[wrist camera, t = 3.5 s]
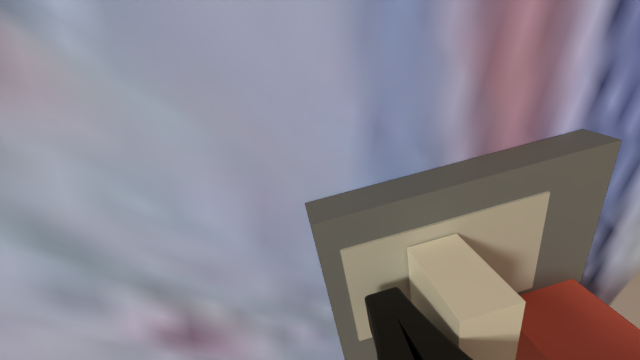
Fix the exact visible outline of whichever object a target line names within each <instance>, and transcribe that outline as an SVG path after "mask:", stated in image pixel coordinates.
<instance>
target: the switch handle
mask: <svg viewBox="0 0 640 360" xmlns="http://www.w3.org/2000/svg"><path fill="white" fill-rule="evenodd" d="M407 256H408V269H409V282H410V295H411V302H412V303H413V305H414V306H415V307H416V308H417V309H418V310H419V311H420V312H421V313H422V314H423V315H424V316H425V317H426V318H427V319H428V320H429V321H430V322H431V323H432V324H433V325H434V326H435V327H437V328H438V329H439V330H440V331H441V332H442V333H443V334H444V335H445V336H446V337H447V338H448V339H449V340H451V341H452V342H453V343H454V344H455V345H456V346H457V347H459V348H460V349H461V350H462V351H463V352H464V353H466V354H467V355H468V356H469V357H470V358H472V359H473V360H515V358H516V353H517V347H518V342H519V336H520V331H521V325H522V320H523V314H524V309H525V303H526V302H525V301H524V300H523V299H522V298H521V297H520V296H519V295H518V294H517V293H516V292H515V291H514V290H513V289H512V288H511V287H510V286H509V285H508V284H507V283H506V282H505V281H504V280H503V279H502V278H501V277H500V276H499V275H498V274H497V273H496V272H495V271H494V270H493V269H492V268H491V267H490V266H489V265H488V264H487V263H486V262H485V261H484V260H483V259H482V258H481V257H480V256H479V255H478V254H477V253H476V252H475V251H474V250H473V249H472V248H471V247H470V246H469V245H468V244H467V243H466V242H465V241H464V240H463V239H462V238H461V237H460V236H459V235H458V234H457V233H456V234H453V235H449V236H446V237H442V238H439V239H435V240H432V241H428V242H425V243H421V244H418V245H414V246H411V247H407Z"/></svg>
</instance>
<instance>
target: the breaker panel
mask: <svg viewBox="0 0 640 360" xmlns="http://www.w3.org/2000/svg"><path fill="white" fill-rule="evenodd" d="M621 141H622V140H620V139H617V138H613V137H610V136H606V135H602V134H599V133H595V132H592V131H588V130H585V129H581V130H577V131H574V132H570V133H566V134H563V135H559V136H555V137H551V138H548V139H544V140H540V141H536V142H533V143H529V144H525V145H521V146H518V147H514V148H510V149H506V150H503V151H499V152H495V153H491V154H488V155H484V156H480V157H476V158H473V159H469V160H465V161H461V162H458V163H454V164H450V165H446V166H443V167H439V168H435V169H431V170H428V171H424V172H420V173H416V174H413V175H409V176H405V177H401V178H398V179H394V180H390V181H386V182H383V183H379V184H375V185H371V186H368V187H364V188H360V189H356V190H353V191H349V192H345V193H341V194H338V195H334V196H330V197H326V198H323V199H319V200H315V201H311V202H308V203H305V206H306V210H307V213H308V217H309V221H310V225H311V229H312V233H313V237H314V241H315V245H316V249H317V253H318V256H319V260H320V264H321V268H322V272H323V276H324V280H325V284H326V288H327V292H328V295H329V299H330V303H331V307H332V311H333V315H334V319H335V323H336V327H337V331H338V335H339V338H340V342H341V346H342V350H343V354H344V358H345V360H377V352H376V348H375V344H374V340H373V337H372V334H371V331H370V326H369V321H368V315H367V310H366V304H365V299H364V298H365V297H366V296H367V295H370V294H373V293H377V292H380V291H383V290H387V289H390V288H393V287H398V288H399V289H400V290H401V291H402V292H403V293H404V295H405V296H406V297H407V298H408V299H409V300H410V301H411V295H410V282H409V269H408V256H407V247H411V246H414V245H418V244H421V243H425V242H428V241H432V240H435V239H439V238H442V237H446V236H449V235H453V234H456V233H457V234H458V235H459V236H460V237H461V238H462V239H463V240H464V241H465V242H466V243H467V244H468V245H469V246H470V247H471V248H472V249H473V250H474V251H475V252H476V253H477V254H478V255H479V256H480V257H481V258H482V259H483V260H484V261H485V262H486V263H487V264H488V265H489V266H490V267H491V268H492V269H493V270H494V271H495V272H496V273H497V274H498V275H499V276H500V277H501V278H502V279H503V280H504V281H505V282H506V283H507V284H508V285H509V286H510V287H511V288H512V289H513V290H514V291H515V292H516V293H517V294H518V295H522V294H525V293H528V292H532V291H535V290H538V289H541V288H544V287H548V286H551V285H554V284H557V283H561V282H564V281H567V280H570V279H574V280H575V281H577V282H578V283H579V284H580V282H581V279H582V275H583V272H584V268H585V265H586V262H587V258H588V255H589V251H590V248H591V244H592V241H593V238H594V234H595V231H596V227H597V224H598V220H599V217H600V213H601V210H602V207H603V203H604V200H605V196H606V193H607V189H608V186H609V183H610V179H611V176H612V172H613V169H614V165H615V162H616V159H617V155H618V152H619V148H620V145H621Z"/></svg>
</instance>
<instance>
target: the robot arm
mask: <svg viewBox="0 0 640 360" xmlns="http://www.w3.org/2000/svg"><path fill="white" fill-rule="evenodd" d="M364 299H365V304H366V310H367V315H368V321H369V326H370V331H371V334H372V337H373V340H374V344H375V348H376V352H377V360H473V359H472V358H470V357H469V356H468V355H467V354H466V353H464V352H463V351H462V350H461V349H460V348H459V347H457V346H456V345H455V344H454V343H453V342H452V341H451V340H449V339H448V338H447V337H446V336H445V335H444V334H443V333H442V332H441V331H440V330H439V329H438V328H437V327H435V326H434V325H433V324H432V323H431V322H430V321H429V320H428V319H427V318H426V317H425V316H424V315H423V314H422V313H421V312H420V311H419V310H418V309H417V308H416V307H415V306H414V305H413V303H412V302H411V301H410V300H409V299H408V298H407V297H406V296H405V295H404V293H403V292H402V291H401V290H400V289H399V288H398V287H393V288H390V289H387V290H383V291H380V292H377V293H373V294H370V295H367V296H366V297H365V298H364Z"/></svg>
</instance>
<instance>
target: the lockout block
mask: <svg viewBox="0 0 640 360" xmlns="http://www.w3.org/2000/svg"><path fill="white" fill-rule="evenodd" d="M519 296H520V297H521V298H522V299H523V300H524V301H525V302H526V303H525V309H524V314H523V320H522V325H521V331H520V336H519V342H518V347H517V353H516V358H515V360H640V329H638V328H637V327H636V326H634V325H633V324H632V323H630V322H629V321H628V320H626V319H625V318H624V317H623V316H621V315H620V314H619V313H617V312H616V311H615V310H613V309H612V308H611V307H609V306H608V305H607V304H606V303H604V302H603V301H602V300H600V299H599V298H598V297H596V296H595V295H594V294H592V293H591V292H590V291H589V290H587V289H586V288H585V287H583V286H582V285H581V284H579V283H578V282H577V281H575V280H574V279H570V280H567V281H564V282H561V283H557V284H554V285H551V286H548V287H544V288H541V289H538V290H535V291H532V292H528V293H525V294H522V295H519Z"/></svg>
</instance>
